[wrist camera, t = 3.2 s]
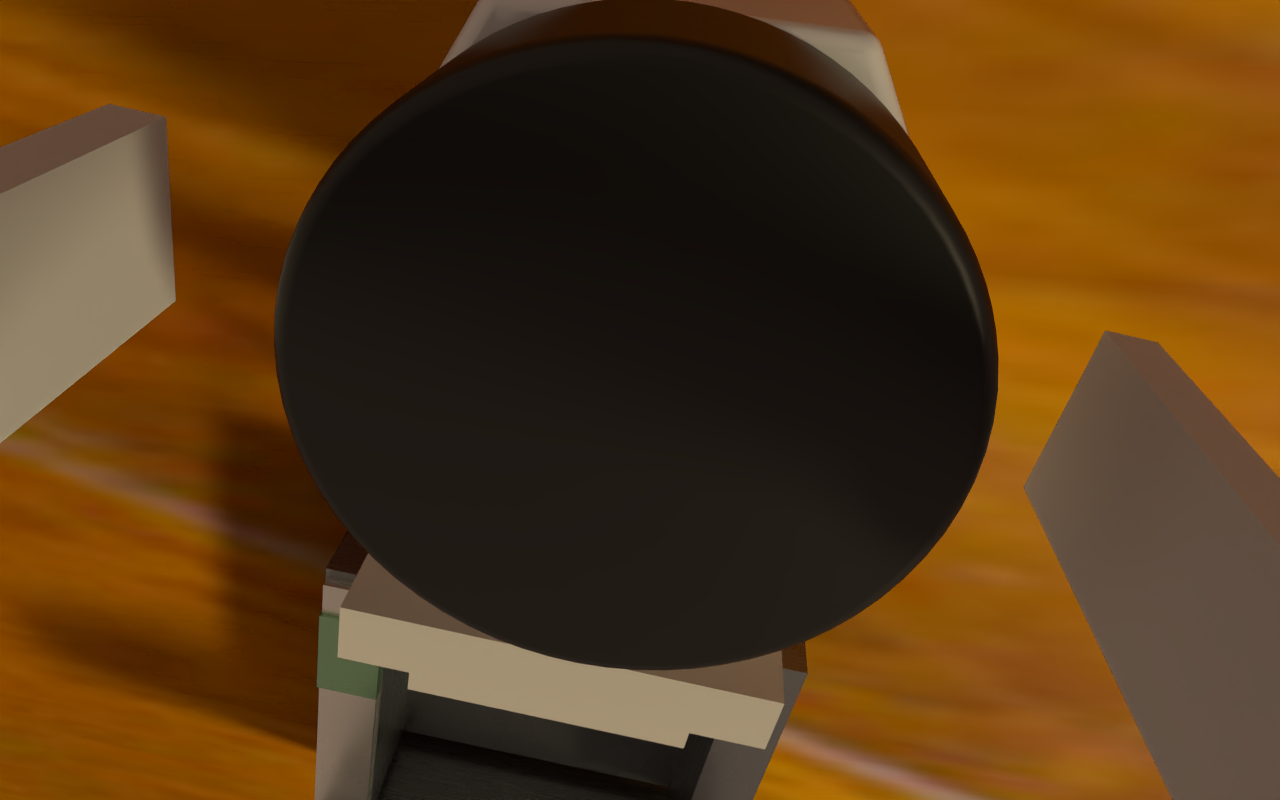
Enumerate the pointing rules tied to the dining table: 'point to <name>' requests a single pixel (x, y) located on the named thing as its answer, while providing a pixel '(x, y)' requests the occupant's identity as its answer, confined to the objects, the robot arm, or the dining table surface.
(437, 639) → the beige angular block
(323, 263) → the jar
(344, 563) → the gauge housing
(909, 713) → the dining table surface
